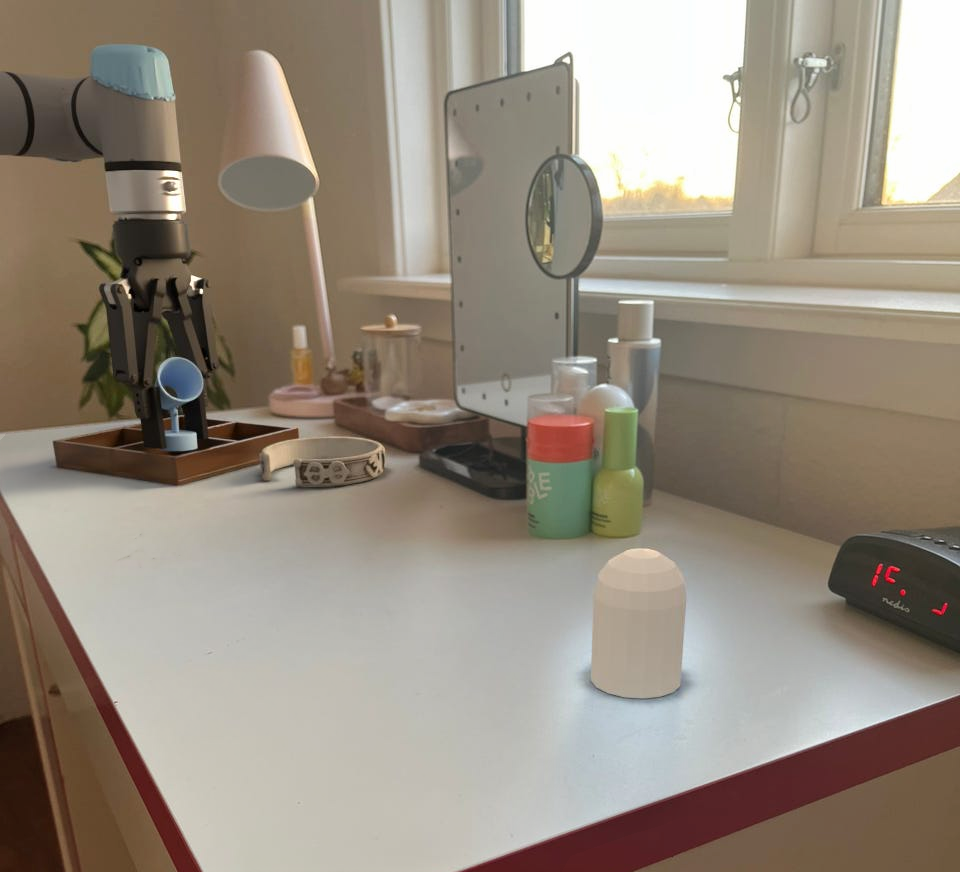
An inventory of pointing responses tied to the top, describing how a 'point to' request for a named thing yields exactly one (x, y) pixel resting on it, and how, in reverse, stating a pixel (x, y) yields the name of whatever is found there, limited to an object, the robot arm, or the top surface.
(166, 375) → the spotlight
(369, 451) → the bracelet
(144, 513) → the top surface
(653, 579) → the cream domed cylinder
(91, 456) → the tray
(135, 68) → the robot arm
